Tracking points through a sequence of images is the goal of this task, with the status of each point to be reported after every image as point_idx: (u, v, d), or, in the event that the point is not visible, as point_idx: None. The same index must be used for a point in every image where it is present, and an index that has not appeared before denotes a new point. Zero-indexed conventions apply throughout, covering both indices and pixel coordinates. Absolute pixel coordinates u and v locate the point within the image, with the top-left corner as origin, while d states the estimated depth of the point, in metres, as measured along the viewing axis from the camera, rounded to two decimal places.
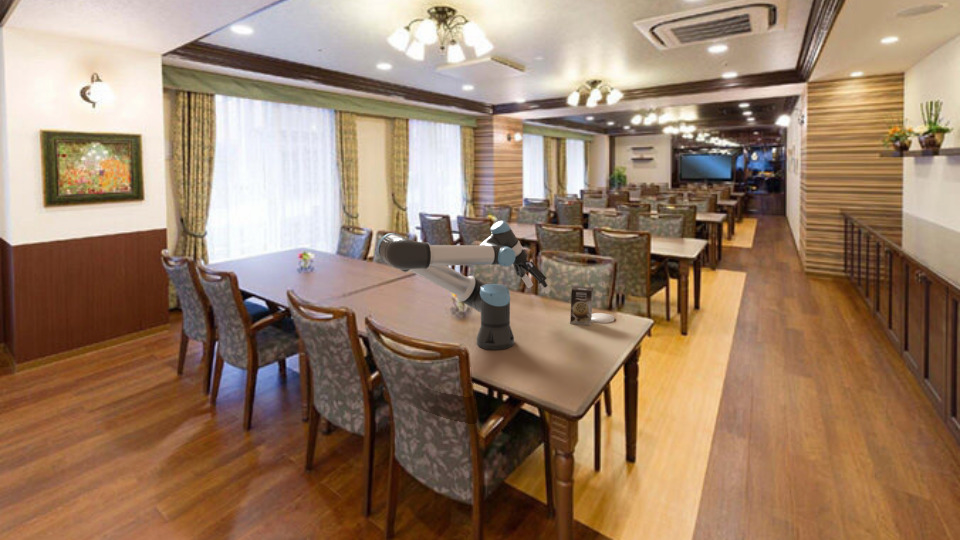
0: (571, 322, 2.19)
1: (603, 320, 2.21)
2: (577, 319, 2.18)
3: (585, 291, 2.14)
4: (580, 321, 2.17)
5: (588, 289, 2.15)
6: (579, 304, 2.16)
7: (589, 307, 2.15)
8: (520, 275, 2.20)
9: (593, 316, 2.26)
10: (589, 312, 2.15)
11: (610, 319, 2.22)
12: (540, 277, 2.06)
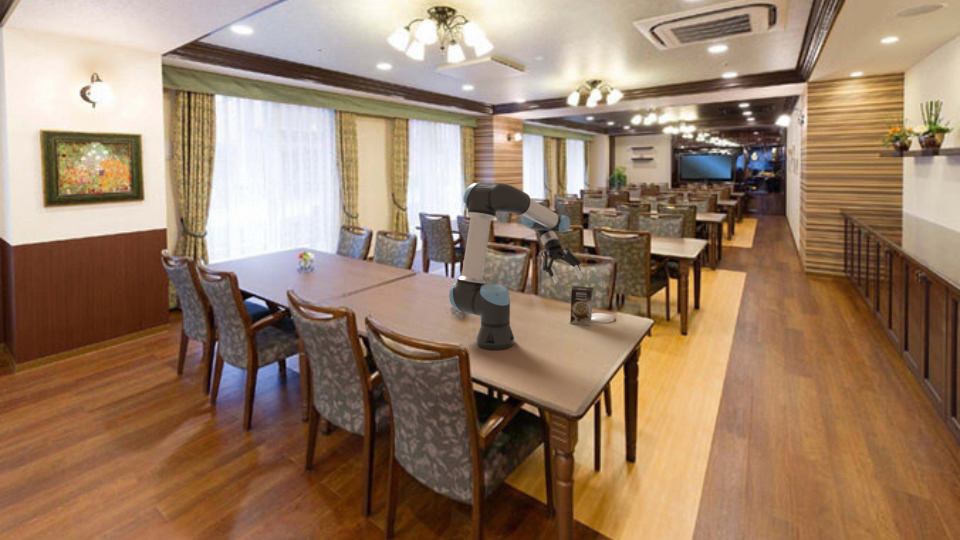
0: (571, 322, 2.19)
1: (603, 320, 2.21)
2: (577, 319, 2.18)
3: (585, 291, 2.14)
4: (580, 321, 2.17)
5: (588, 289, 2.15)
6: (579, 304, 2.16)
7: (589, 307, 2.15)
8: (550, 266, 2.26)
9: (593, 316, 2.26)
10: (589, 312, 2.15)
11: (610, 319, 2.22)
12: None
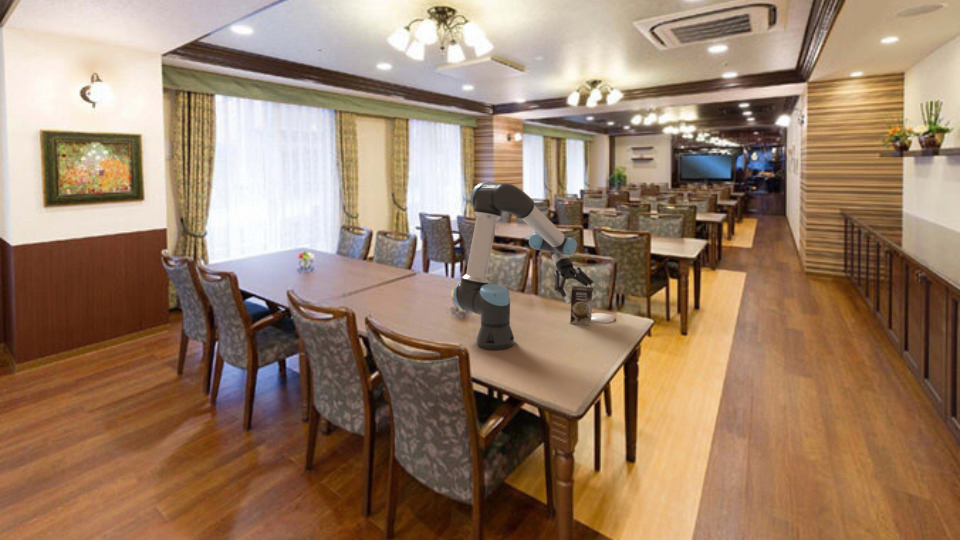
0: (571, 322, 2.19)
1: (603, 320, 2.21)
2: (577, 319, 2.18)
3: (585, 291, 2.14)
4: (580, 321, 2.17)
5: (588, 289, 2.15)
6: (579, 304, 2.16)
7: (589, 307, 2.15)
8: (562, 286, 2.20)
9: (593, 316, 2.26)
10: (589, 312, 2.15)
11: (610, 319, 2.22)
12: None
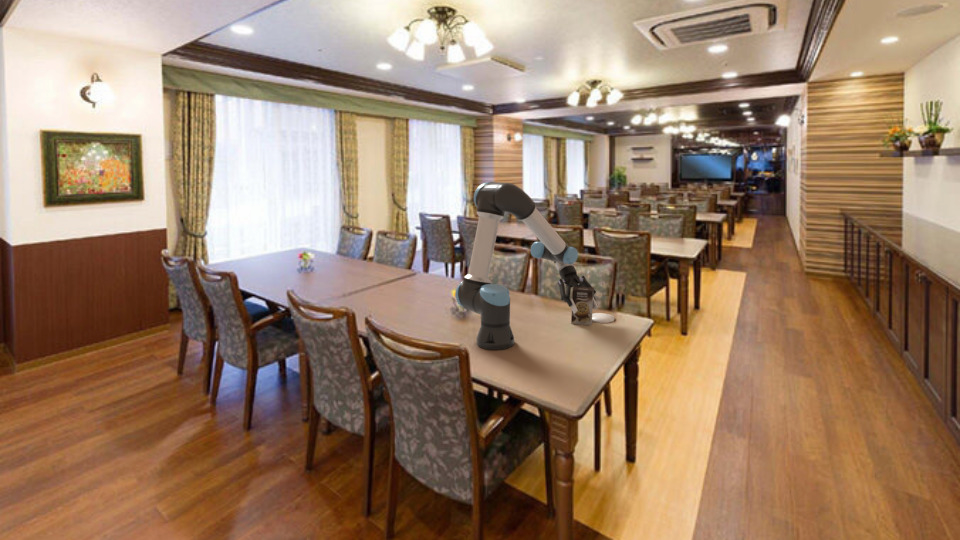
0: (572, 322, 2.19)
1: (603, 320, 2.21)
2: (578, 319, 2.18)
3: (586, 291, 2.14)
4: (581, 321, 2.17)
5: (589, 289, 2.15)
6: (580, 304, 2.16)
7: (590, 307, 2.15)
8: (569, 295, 2.17)
9: (593, 316, 2.26)
10: (590, 312, 2.15)
11: (610, 319, 2.22)
12: None
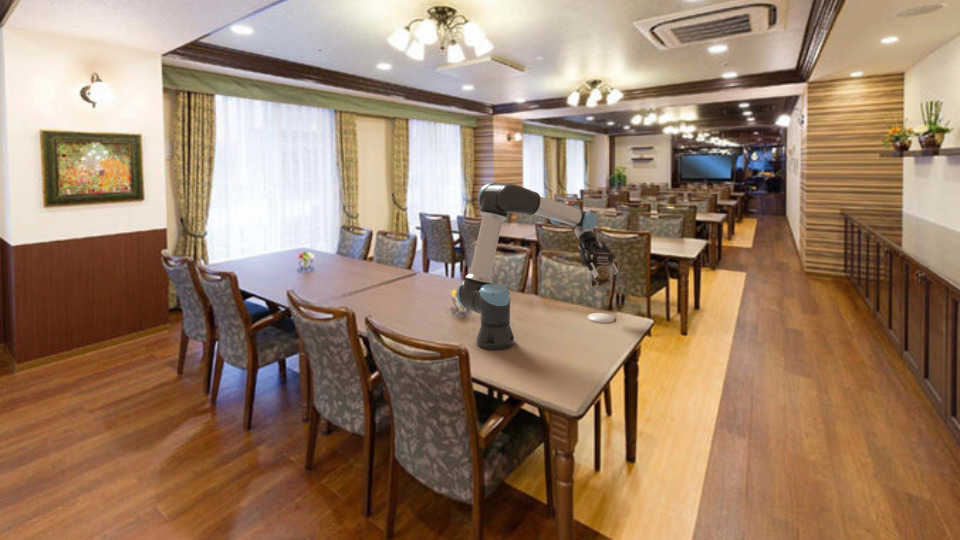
0: (592, 287, 2.20)
1: (603, 320, 2.21)
2: (598, 284, 2.19)
3: (607, 255, 2.15)
4: (602, 285, 2.19)
5: (609, 253, 2.16)
6: (601, 268, 2.17)
7: (610, 271, 2.16)
8: (589, 259, 2.18)
9: (593, 316, 2.26)
10: (610, 276, 2.17)
11: (610, 319, 2.22)
12: None
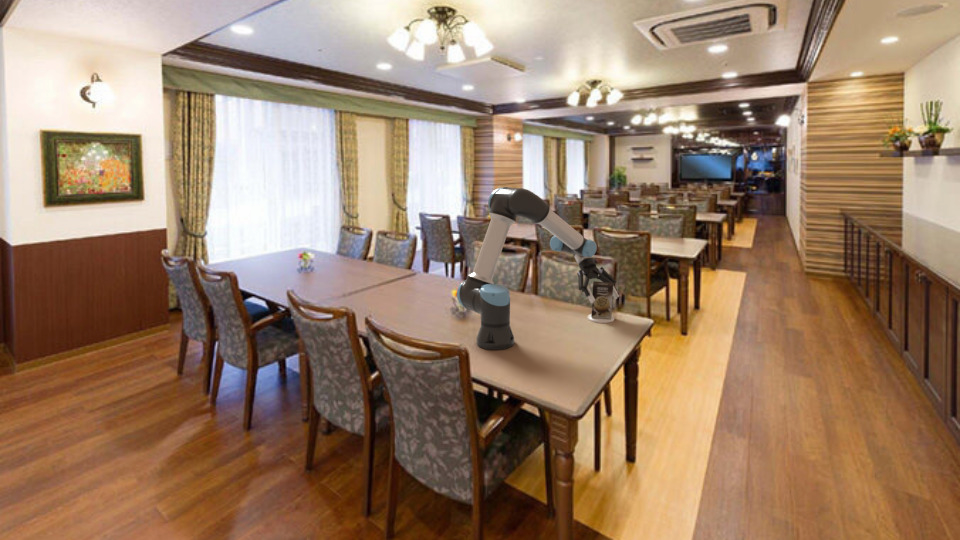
0: (592, 316, 2.23)
1: (603, 320, 2.21)
2: (598, 314, 2.22)
3: (606, 286, 2.19)
4: (601, 315, 2.22)
5: (609, 284, 2.20)
6: (601, 299, 2.20)
7: (610, 301, 2.20)
8: (586, 285, 2.21)
9: None
10: (610, 306, 2.20)
11: None
12: None
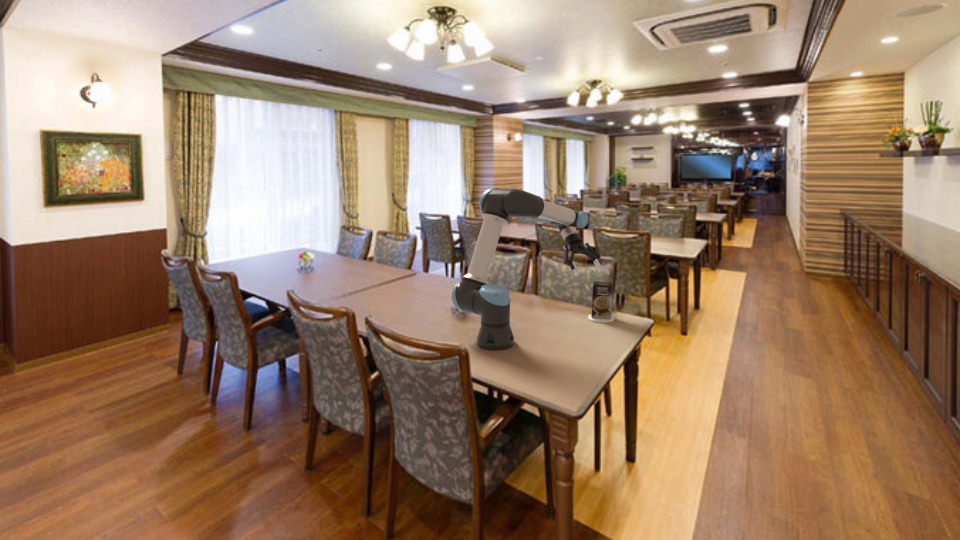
0: (592, 316, 2.23)
1: (603, 320, 2.21)
2: (598, 314, 2.22)
3: (606, 286, 2.19)
4: (601, 315, 2.22)
5: (609, 284, 2.20)
6: (601, 299, 2.20)
7: (610, 301, 2.20)
8: (571, 259, 2.29)
9: None
10: (610, 306, 2.20)
11: None
12: None
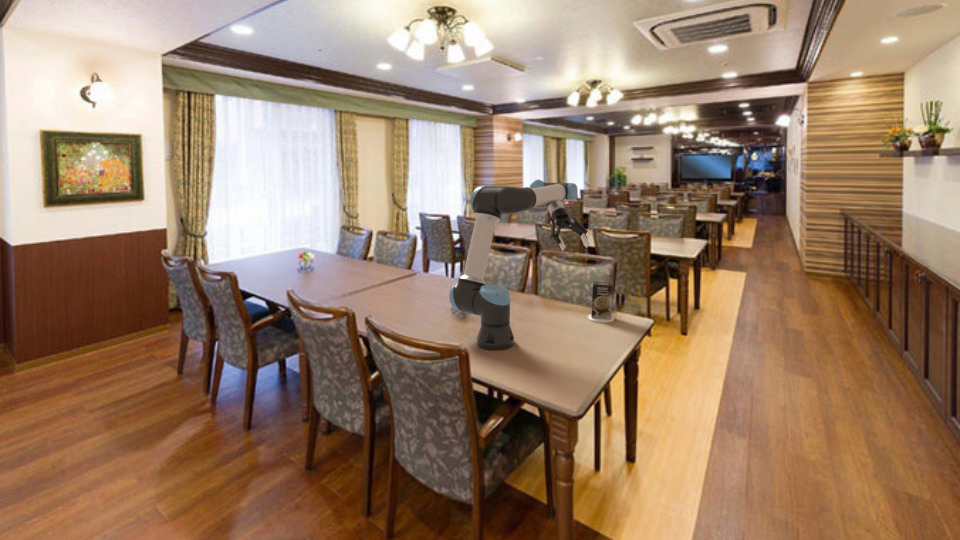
0: (592, 316, 2.23)
1: (603, 320, 2.21)
2: (598, 314, 2.22)
3: (606, 286, 2.19)
4: (601, 315, 2.22)
5: (609, 284, 2.20)
6: (601, 299, 2.20)
7: (610, 301, 2.20)
8: (558, 233, 2.28)
9: None
10: (610, 306, 2.20)
11: None
12: None
